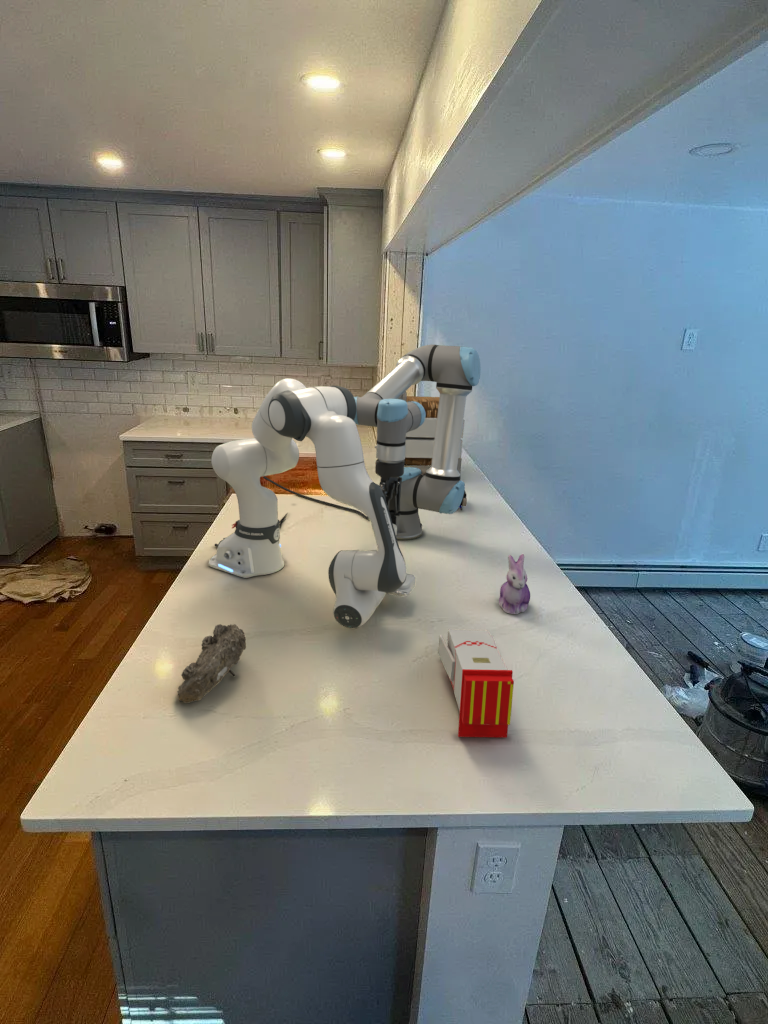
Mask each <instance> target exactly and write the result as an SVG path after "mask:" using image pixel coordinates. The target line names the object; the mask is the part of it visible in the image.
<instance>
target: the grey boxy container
mask: <svg viewBox="0 0 768 1024" xmlns="http://www.w3.org/2000/svg"><path fill="white" fill-rule="evenodd" d="M407 394H408V393H407V390H406V391H405V392H404V393H403V394H402V395H401V396H400V397H399V398H398V399H401V400H404V401H406V402H408V401H415V402H418V403H420V404H421V405H422V406H423V408H424V409H425V413H426V417H425V421H424V423H423V424H422V425H421V426H419V427H418V428H417V429H415V430H412V431H409V432H407V433H406V441H405V444H406V445H405V459H404V460H403V461H404V466H406V467H417V466H418V467H431V464H432V455H433V447H434V439H435V431H436V422H437V414H438V406H439V398H440V396H415V395H414V396H413V395H412V396H411V395H407ZM464 429H465V419H464V418H463V426H462V433H461V441H460V449H459V456H458V464H457V470H458V472H459V473H460V474H461V472H462V461H463V460H462V453H463V442H464V441H463V440H462V439H463V438H464V431H465V430H464Z"/></svg>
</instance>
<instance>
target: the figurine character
mask: <svg viewBox="0 0 768 1024" xmlns="http://www.w3.org/2000/svg"><path fill="white" fill-rule="evenodd" d="M467 503H468V498H467V492H466V490H465V491H464V495H463V499H462V501H461V504H460V506H459V509H460V511H463V507H464V508H465V507H467Z"/></svg>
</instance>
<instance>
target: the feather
mask: <svg viewBox="0 0 768 1024" xmlns="http://www.w3.org/2000/svg"><path fill="white" fill-rule="evenodd" d="M287 515H288V513H286V514H285V515H284V516H283V517H282V518H281V519H279V522H280V527H282V524H283V522H284V521H285V519H286V518H287Z"/></svg>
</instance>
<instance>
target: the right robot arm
mask: <svg viewBox="0 0 768 1024" xmlns="http://www.w3.org/2000/svg"><path fill="white" fill-rule="evenodd" d="M480 380H481V359H480V355H479V352H478V350H476V349H475V348H474V347H470V346H463V345H460V346H459V345H444V344H443V345H441V344H426V345H421V346H419V347H416V348H414V349H412V350H410V351H409V352H407V353H405V354H404V355H402V356H401V357H400V358H399V359H398V361H397V362H396V365H395V367H394V368H393V369H392V370H391V371H389V372H388V373H386V375H385V376H384V377H383V378H382V379H380V380H379V381H378V382H377V383H376V384H374V385H373V386H372V387H371V388H370V389H369V390H368V391H367V392H365V394H363V395H362V396H361V397H360V396H354V399H355V402H356V416H355V419H354V422H355V424H356V426H367V427H373V428H376V445H375V446H374V449H375V458H376V460H375V466H374V467H375V471H374V472H375V474H376V476H379V477H380V481H379V484H378V485H379V486H380V488H381V490H382V492H383V494H384V497H385V500H386V503H387V506H388V510H389V513H390V517H391V520H392V524H395V525H396V526H397V535H396V538H397V541H410V540H415V539H418V538H420V537H421V536H422V535H423V524H422V523H421V518H420V515H419V510H423V511H430V512H435V513H439V514H446V515H452V514H454V513H456V512H457V511H458V509H460V507H459V506H460V504H461V501H462V499H463V495H464V491H465V492H466V487H465V486H466V483H465V482H464V481H463V480H462V479H461V474H460V473H459V472H458V470H457V464H458V456H459V449H460V441H461V440H462V438H461V433H462V426H463V419H464V417H465V411H466V402H467V397H468V395H469V394H471V393H472V392H473V387H476V386H478V385H479V382H480ZM421 382H432V383H435V389H436V390H437V391H438V393H439V397H440V398H439V406H438V414H437V422H436V431H435V439H434V447H433V455H432V464H431V465H430V466H429V468H427V469H426V470H425V474H422V470H421V468H419V467H416V466H406V467H405V465H404V461H403V460H404V459H405V445H406V444H405V441H406V433H407V432H409V431H412V430H415V429H417V428H418V427H419V426H421V425H422V424H423V423H424V421H425V417H426V413H425V409H424V408H423V406H422V405H421V404H420V403H418V402H415V401H408V402H406V401H404V400H401V399H398V398H399V397H400V396H401V395H402V394H403V393H404V392H405V391H406V392H407V391H408V390H409V389H410V388H411V387H412V386H415V385H418V384H419V383H421ZM262 477H263V479H264V480H266V481H268V482H269V483H271V484H273V485H275V486H276V487H278V488H280V489H282V490H284V491H286V492H288V493H291V494H293V495H294V496H295V495H296V496H298V497H301V498H303V499H306V500H310V501H312V502H315V503H320V504H324V505H326V506H330V507H334V508H338V509H341V510H345V511H349V512H353V513H356V514H358V515H360V516H361V517H363V518H364V519H365V520H368V521H370V520H369V518H368V517H367V516H366V515H365V514H364V513H363V512H362V511H360V510H358V509H356V508H355V509H354V508H350V507H346V506H344V505H343V506H342V505H339V504H336V503H332V502H327V501H325V500H320V499H317V498H313V497H311V496H308V495H304V494H301V493H298V492H296V491H293V490H291V489H289V488H286V487H285V486H283V485H281V484H279V483H277V482H276V481H274V480H272V479H270V478H268V477H267V476H262Z"/></svg>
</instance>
